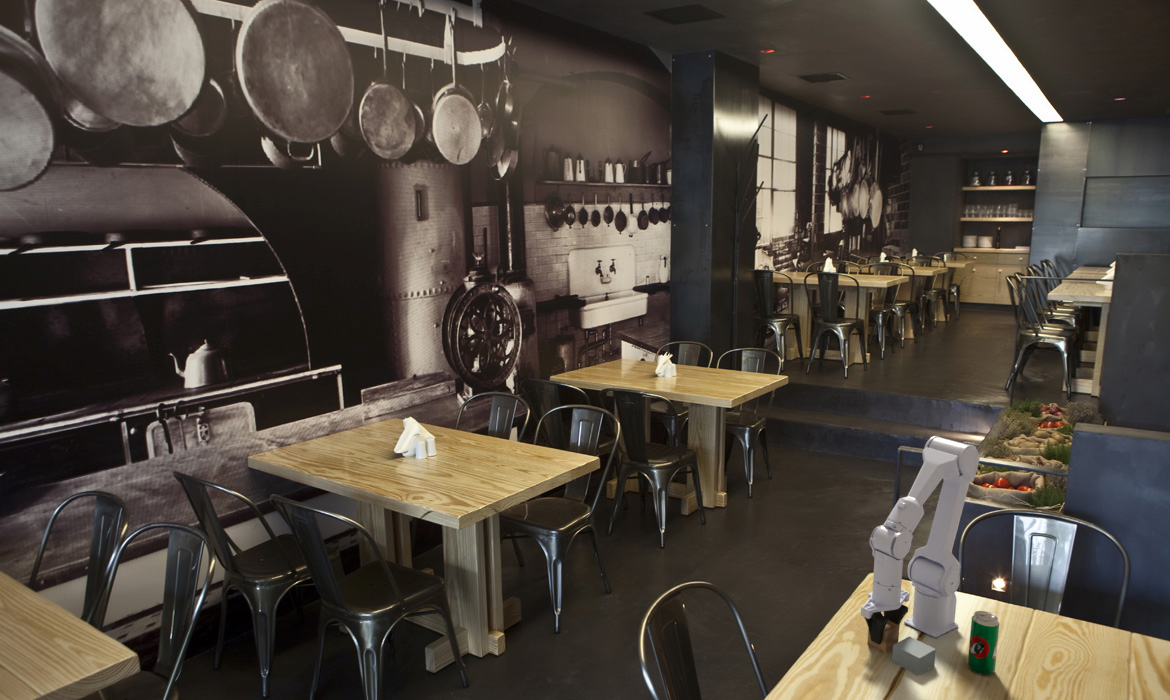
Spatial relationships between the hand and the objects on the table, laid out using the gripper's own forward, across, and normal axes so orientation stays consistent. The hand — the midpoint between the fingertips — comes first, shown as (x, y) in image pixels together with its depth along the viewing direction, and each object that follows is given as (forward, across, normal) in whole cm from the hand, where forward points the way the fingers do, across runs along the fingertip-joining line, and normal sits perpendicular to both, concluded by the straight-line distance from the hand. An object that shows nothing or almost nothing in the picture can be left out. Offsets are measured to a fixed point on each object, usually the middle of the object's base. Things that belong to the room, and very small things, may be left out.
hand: (883, 638), depth 164 cm
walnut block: (+2, 0, 0) cm, 2 cm away
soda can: (+2, -9, +17) cm, 19 cm away
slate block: (+2, +1, +8) cm, 8 cm away
